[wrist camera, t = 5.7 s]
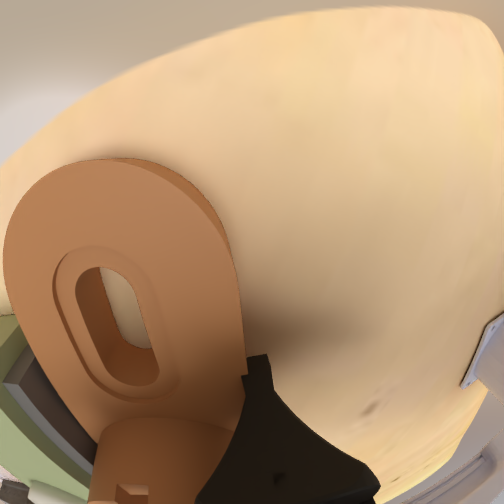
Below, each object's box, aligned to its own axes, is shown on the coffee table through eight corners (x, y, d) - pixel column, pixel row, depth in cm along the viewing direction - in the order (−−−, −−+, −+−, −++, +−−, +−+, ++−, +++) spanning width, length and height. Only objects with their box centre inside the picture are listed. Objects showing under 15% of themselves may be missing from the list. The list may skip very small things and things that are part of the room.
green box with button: (45, 310, 10) (-25, 412, 3) (184, 494, 17) (188, 548, 11) (-50, 321, 8) (-96, 376, 2) (89, 486, 16) (84, 532, 10)
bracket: (254, 445, 15) (274, 531, 9) (137, 451, 14) (132, 532, 8) (220, 142, 9) (250, 105, 2) (23, 183, 8) (-105, 232, 1)
